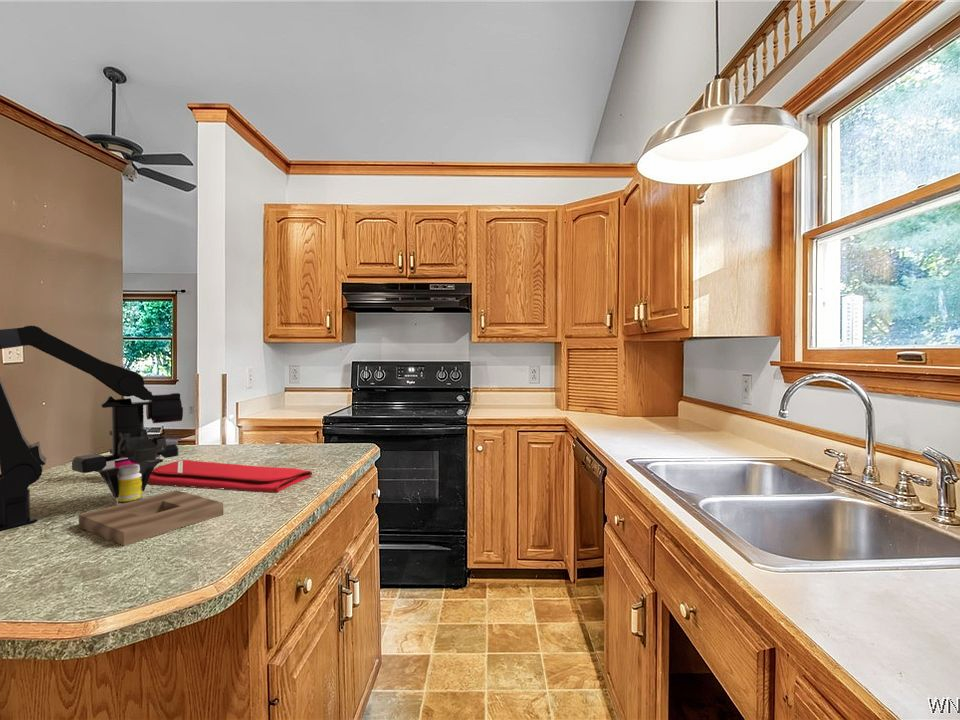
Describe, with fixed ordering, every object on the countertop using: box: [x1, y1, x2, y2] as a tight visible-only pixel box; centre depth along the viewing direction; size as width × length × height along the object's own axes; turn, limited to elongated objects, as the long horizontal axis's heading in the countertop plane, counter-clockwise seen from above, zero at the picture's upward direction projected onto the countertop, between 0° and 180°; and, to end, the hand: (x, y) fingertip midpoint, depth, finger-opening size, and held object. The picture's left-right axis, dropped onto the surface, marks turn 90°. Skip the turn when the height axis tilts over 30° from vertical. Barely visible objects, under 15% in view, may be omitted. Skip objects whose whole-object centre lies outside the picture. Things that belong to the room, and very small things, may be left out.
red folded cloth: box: [147, 459, 313, 493], centre depth 124 cm, size 16×41×4 cm, turn 78°
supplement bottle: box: [115, 464, 143, 505], centre depth 105 cm, size 5×5×8 cm
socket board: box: [78, 490, 224, 547], centre depth 94 cm, size 18×18×2 cm
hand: (129, 494), depth 105 cm, fingers closed on supplement bottle, 5 cm apart
